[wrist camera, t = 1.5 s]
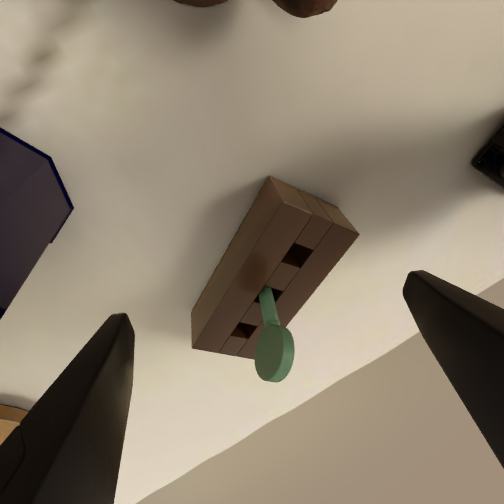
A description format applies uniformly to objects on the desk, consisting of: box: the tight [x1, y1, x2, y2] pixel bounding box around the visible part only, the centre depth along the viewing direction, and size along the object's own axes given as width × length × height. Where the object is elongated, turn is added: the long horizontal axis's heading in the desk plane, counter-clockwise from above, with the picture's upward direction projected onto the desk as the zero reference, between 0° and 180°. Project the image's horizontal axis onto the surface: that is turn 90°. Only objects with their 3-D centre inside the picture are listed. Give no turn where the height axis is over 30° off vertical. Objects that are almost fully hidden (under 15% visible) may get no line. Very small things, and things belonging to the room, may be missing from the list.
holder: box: [191, 176, 360, 360], centre depth 25 cm, size 6×15×4 cm, turn 152°
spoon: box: [255, 285, 294, 382], centre depth 23 cm, size 1×4×10 cm, turn 152°
